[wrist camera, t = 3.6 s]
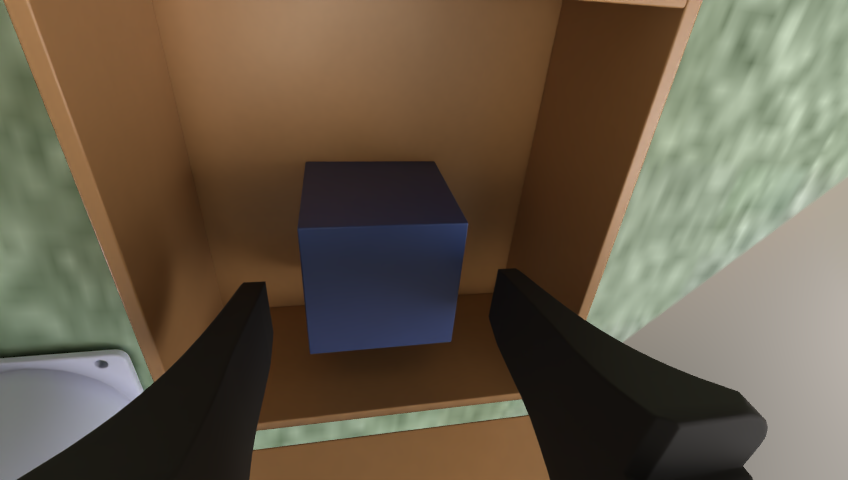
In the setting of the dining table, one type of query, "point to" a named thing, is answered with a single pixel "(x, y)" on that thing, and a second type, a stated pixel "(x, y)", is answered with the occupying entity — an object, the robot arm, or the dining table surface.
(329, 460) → the flap
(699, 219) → the dining table surface
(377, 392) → the carton
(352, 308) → the cube
